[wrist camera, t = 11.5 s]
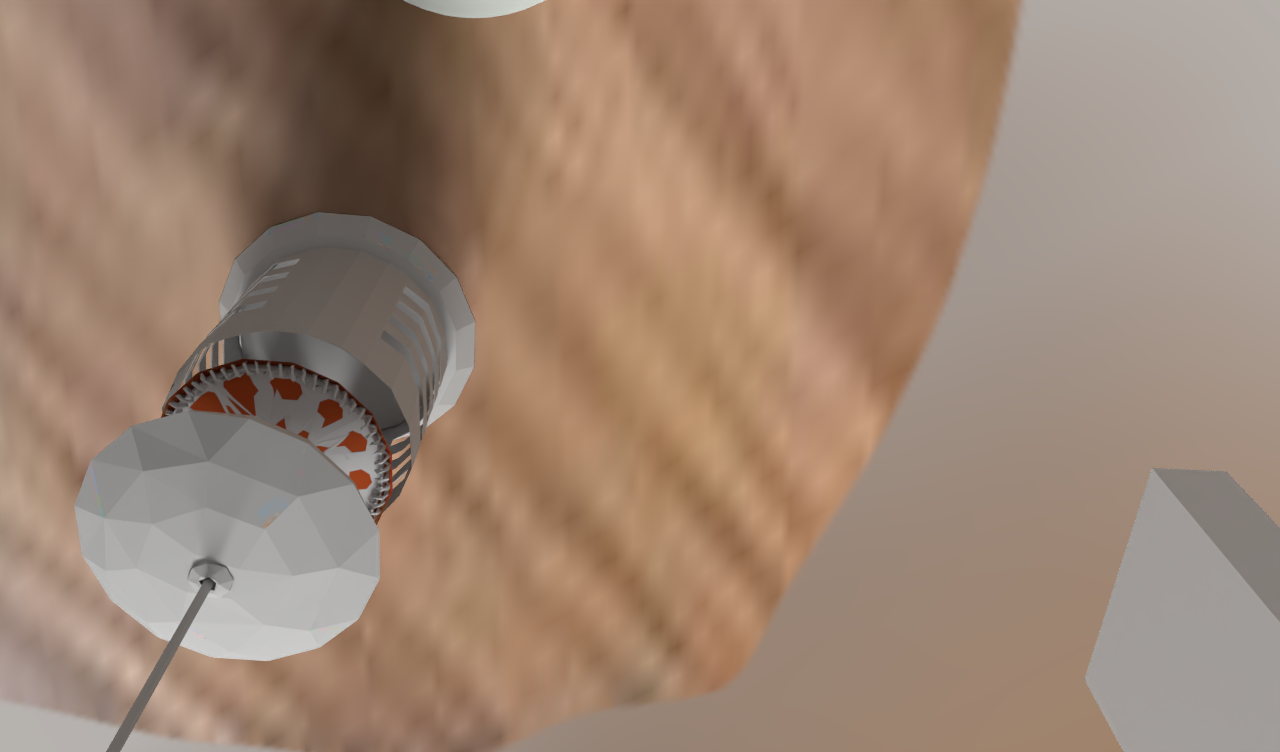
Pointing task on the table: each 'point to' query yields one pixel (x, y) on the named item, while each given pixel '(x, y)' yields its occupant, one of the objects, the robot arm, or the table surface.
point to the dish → (474, 7)
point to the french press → (279, 446)
